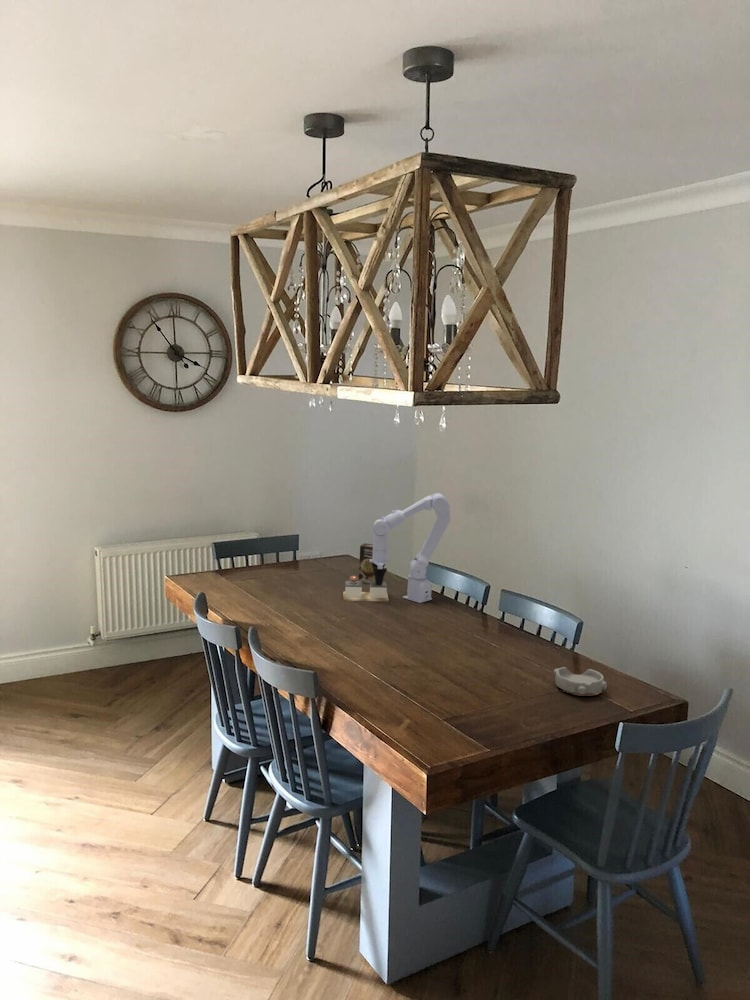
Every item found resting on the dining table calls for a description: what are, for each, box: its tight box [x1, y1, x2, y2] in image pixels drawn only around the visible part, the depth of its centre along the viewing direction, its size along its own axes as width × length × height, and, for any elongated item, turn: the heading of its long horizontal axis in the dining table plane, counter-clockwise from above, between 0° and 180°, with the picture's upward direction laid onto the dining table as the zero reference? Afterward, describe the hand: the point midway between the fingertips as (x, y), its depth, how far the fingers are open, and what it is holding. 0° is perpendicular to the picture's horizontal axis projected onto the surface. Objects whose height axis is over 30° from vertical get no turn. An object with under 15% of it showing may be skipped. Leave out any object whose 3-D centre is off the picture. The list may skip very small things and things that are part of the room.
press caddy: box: [344, 580, 388, 598], centre depth 328 cm, size 17×7×5 cm, turn 93°
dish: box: [553, 666, 608, 694], centre depth 241 cm, size 14×14×5 cm
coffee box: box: [358, 543, 375, 584], centre depth 351 cm, size 9×6×16 cm
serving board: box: [342, 591, 390, 602], centre depth 328 cm, size 18×10×1 cm, turn 93°
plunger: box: [349, 575, 359, 584], centre depth 327 cm, size 3×3×6 cm
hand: (378, 582), depth 327 cm, fingers open, 7 cm apart
